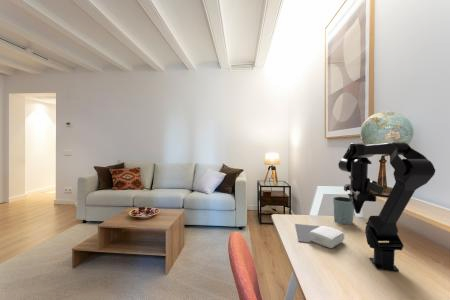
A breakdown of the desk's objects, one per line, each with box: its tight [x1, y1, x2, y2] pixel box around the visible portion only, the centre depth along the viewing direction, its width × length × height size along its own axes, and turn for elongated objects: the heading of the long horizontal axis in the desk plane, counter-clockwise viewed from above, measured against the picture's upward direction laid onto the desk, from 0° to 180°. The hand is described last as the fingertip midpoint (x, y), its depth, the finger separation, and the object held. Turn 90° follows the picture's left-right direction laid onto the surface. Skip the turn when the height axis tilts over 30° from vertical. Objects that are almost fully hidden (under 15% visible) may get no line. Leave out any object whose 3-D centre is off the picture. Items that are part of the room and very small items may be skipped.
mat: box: [294, 223, 321, 245], centre depth 101 cm, size 20×13×1 cm, turn 166°
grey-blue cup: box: [332, 196, 355, 226], centre depth 117 cm, size 10×10×12 cm
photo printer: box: [308, 225, 345, 249], centre depth 93 cm, size 10×4×12 cm
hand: (357, 213), depth 90 cm, fingers closed
